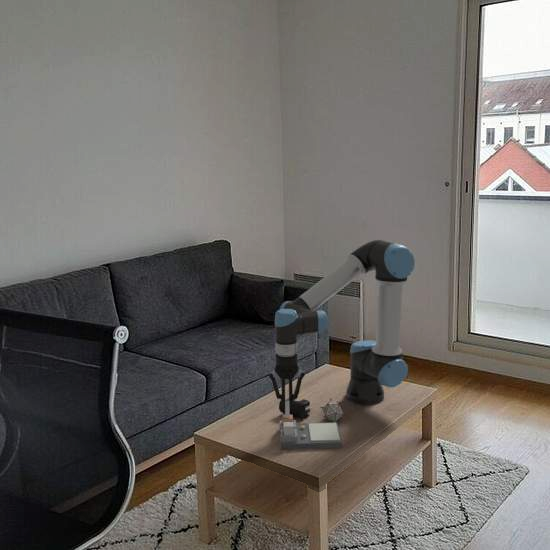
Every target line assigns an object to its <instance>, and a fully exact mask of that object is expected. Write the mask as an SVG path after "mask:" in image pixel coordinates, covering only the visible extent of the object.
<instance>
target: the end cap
mask: <svg viewBox="0 0 550 550" xmlns="http://www.w3.org/2000/svg"><path fill="white" fill-rule="evenodd" d="M287 398H289V396H288V397H287ZM297 399H298V398H295V399H293V407H292V408H290V415H293V418H296V419H299V420H302V421H304V420H305V419H308V418H309V417H310V412H311V408H308V407H310V405H311V403H310V401H309V400H308V399H304V398H303V399H301V400H297ZM278 409H279V412H280V413H281V414H282V415H285V408H282V400H281V399H280V401H279V403H278Z"/></svg>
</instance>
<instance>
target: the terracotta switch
mask: <svg viewBox="0 0 550 550" xmlns="http://www.w3.org/2000/svg"><path fill="white" fill-rule="evenodd" d="M282 420H283V422H293V420H294V417H293V415H290V418H285V414H282Z"/></svg>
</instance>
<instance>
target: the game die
mask: <svg viewBox="0 0 550 550" xmlns="http://www.w3.org/2000/svg"><path fill="white" fill-rule="evenodd" d="M342 406H343V405H342V402H339V403H338V402H337V401H334V400H333V399H332V398H329V401H328V402H327V403H326V404H325V405H323V406H320V409H322V411H323V414H324V416H323V418H325V419H324V420H325V421H326V420H329V421H331V422H337V421H338V420H339V419H340V418H341V417H342V416H346V413H344V411H343V409H342Z"/></svg>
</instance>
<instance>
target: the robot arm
mask: <svg viewBox="0 0 550 550" xmlns="http://www.w3.org/2000/svg"><path fill="white" fill-rule="evenodd" d="M415 262H416V261H415V257H414V254H413V252H412V250H410V248H408V247H407V246H405V245H403V244H399V243H395V242H391V241H387V240H384V239H383V240H382V239H375V240H374V239H373V240H371V241H368V242H366V243H365V244H362V245H361V246H359V247H357V248H356V249H355V250H353V251H352V252H350V254H348V255H347V259H346V260H345V261H344V262H342V263H341V264H339V265H338V266H337V267H335V269H333V270H332V271H330V272H329V273H328V274H327V275H326V276H324V277H323V278H322V279H320V280H319V281H318V282H316V283H315V284H314V285H313V286H312V287H310V288H309V289H308V290H306V291H305V292H303V293H302V294H301V295H299V296H298V297H297V298H296V299H294V300H287V301H284V302H283V303H282V304H281V305H280V307H279V310H278V309H277V311H276V312H275V315H274V333H275V334H274V337H275V342H274V343H275V344H274V345H275V353H276V354H275V366H274V369H273V370H271V371H268V377H269V378H270V380H271V382H272V386H273V390H274V393H275V397H276V399H277V400H280V401H281V400H282V408H285V414H284V415H285V418H290V408H292V407H293V399H295V398H297V399H298V398H299V393H300V389H301V385H302V382H303V381H302V380H303V379H304V377H305V375H306V373H305V370H301V369H300V368H299V366H298V336H302V335H303V336H305V335H310V334H315V333H316V334H317V333H321V332H323V331H326V330H327V329H328V327H329V317H328V314H327V313H326V311H324V310H322V309H319V310H317V309H318V308H319V307H321V306H322V305H323V304H324V303H326V302H328V301H329V300H330V299H331V298H333V297H334V296H335V295H336V294H338V293H339V292H340V291H341V290H343V289H344V288H345V287H347V285H350V283H351V282H353V281H354V280H355V279H356V278H358V277H360V276H365V275H366V274H367V273H369V272H371V271H375V276H374V279H375V281H376V282H377V283H378V297H377V298H378V301H377V315H376V316H377V318H376V339H375V340H372V339H371V340H369V339H367V340H358V341H355V342H353V343H352V344H351V346H350V351H349V354H350V379H349V381H348V384H347V387H346V392H345V396H346V399H347V400H348V401H350V402H351V403H355V404H358V405H359V404H360V405H372V404H373V405H374V404H377V403H380V402H382V401H383V400H384V399H385V391H384V388H383V386H384V387H387V388H395V387H398V386H400V384H402V383H403V381H405V379H406V377H407V376H408V373H409V368H408V367H409V366H408V364H407V363H406V362H405V360H403V355H404V354H403V353H404V352H403V349H402V348H401V347H400V336H401V335H400V334H401V317H402V316H401V315H402V300H403V285H404V284H405V283H406V282H407V281H408V277H409V276H410V275H411V274H412V272H413V271H414V268H415V264H416V263H415ZM276 375H277V376H278V377H279V379H280V381H281V393H280V389H279V386H278V383H277V379H276ZM296 376H298V377H297V380H296V385H295V389H294V391H293V379H294V378H295V377H296ZM286 380H288V397H289V398H288V397H286ZM293 392H294V393H293ZM295 400H296V399H295Z"/></svg>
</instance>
